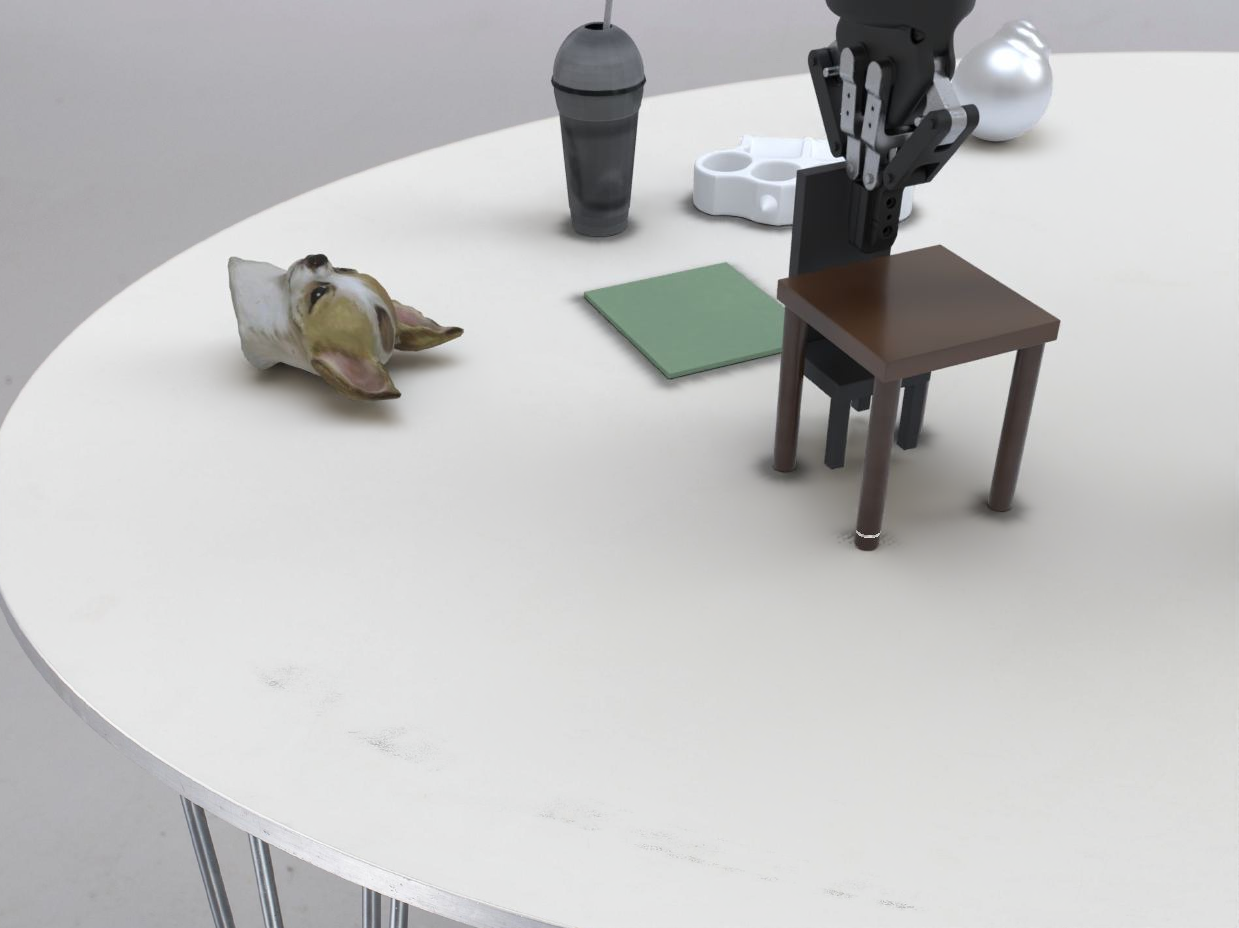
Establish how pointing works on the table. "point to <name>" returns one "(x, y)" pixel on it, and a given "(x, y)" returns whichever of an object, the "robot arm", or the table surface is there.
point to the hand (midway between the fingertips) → (869, 246)
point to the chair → (826, 365)
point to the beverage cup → (599, 122)
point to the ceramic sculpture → (327, 323)
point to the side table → (910, 352)
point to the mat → (694, 318)
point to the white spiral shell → (1006, 80)
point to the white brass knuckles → (762, 178)
